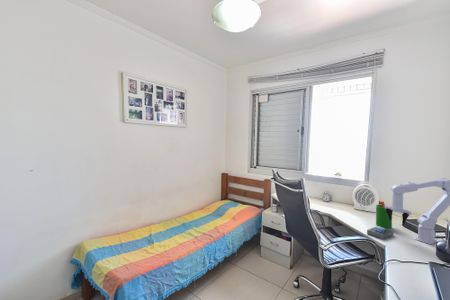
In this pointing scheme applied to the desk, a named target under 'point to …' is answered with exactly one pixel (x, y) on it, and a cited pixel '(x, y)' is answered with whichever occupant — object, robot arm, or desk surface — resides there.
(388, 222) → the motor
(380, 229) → the servo
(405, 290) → the desk surface
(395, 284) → the desk surface
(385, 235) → the chassis
